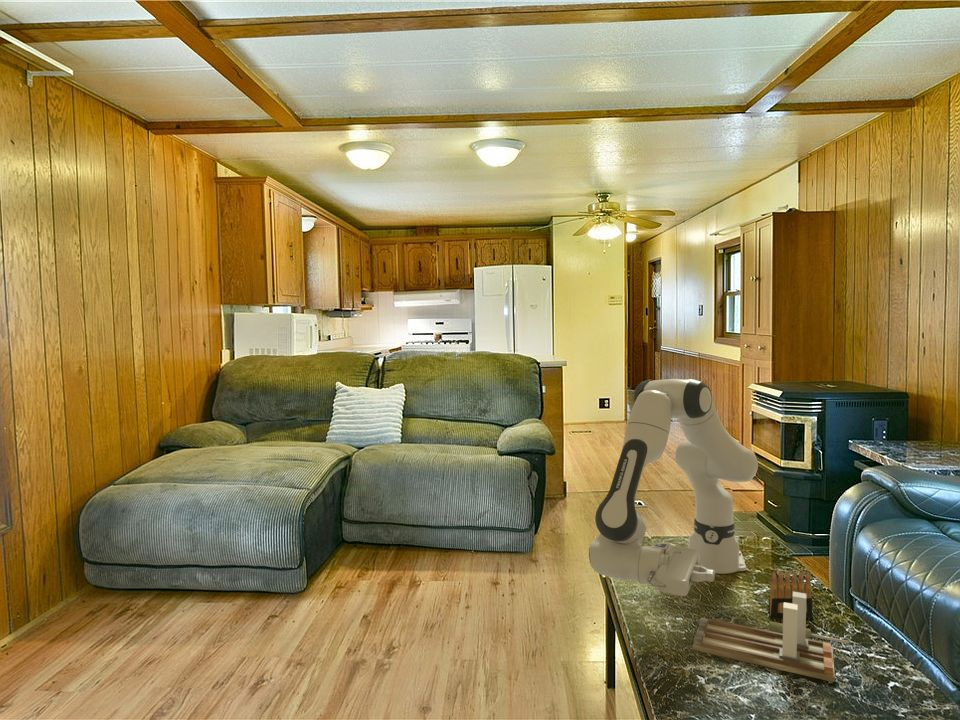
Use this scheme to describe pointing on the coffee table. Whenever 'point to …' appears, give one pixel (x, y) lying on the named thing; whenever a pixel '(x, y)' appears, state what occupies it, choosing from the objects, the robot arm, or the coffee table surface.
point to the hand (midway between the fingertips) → (714, 576)
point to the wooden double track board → (762, 648)
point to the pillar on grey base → (801, 619)
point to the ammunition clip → (788, 593)
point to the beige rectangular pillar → (789, 633)
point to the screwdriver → (779, 629)
